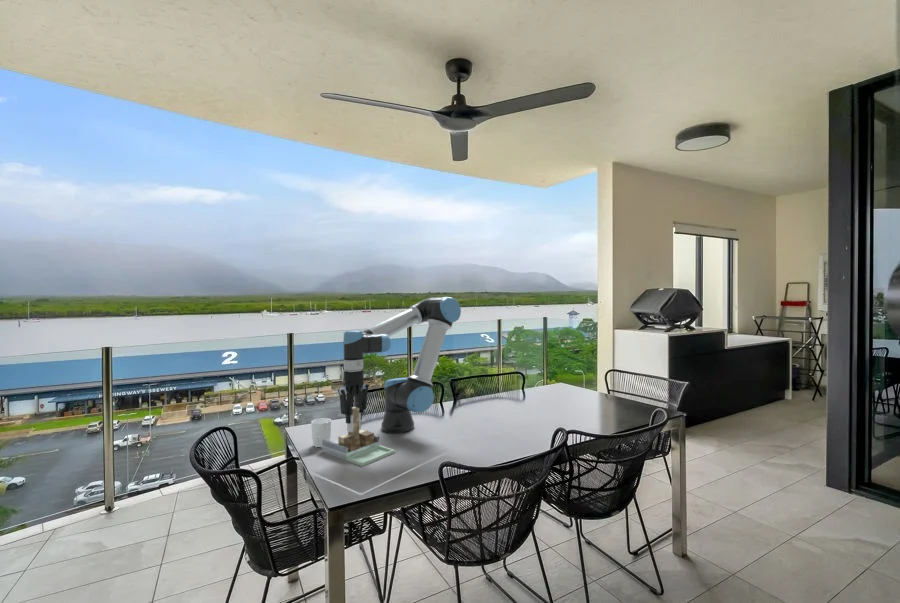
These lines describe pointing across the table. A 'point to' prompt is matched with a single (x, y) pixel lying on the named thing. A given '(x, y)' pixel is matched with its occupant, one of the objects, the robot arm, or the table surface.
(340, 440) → the light wood block tower
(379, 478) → the table surface
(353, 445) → the walnut cube
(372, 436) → the walnut cube
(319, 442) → the white cup
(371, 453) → the tray
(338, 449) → the bed
